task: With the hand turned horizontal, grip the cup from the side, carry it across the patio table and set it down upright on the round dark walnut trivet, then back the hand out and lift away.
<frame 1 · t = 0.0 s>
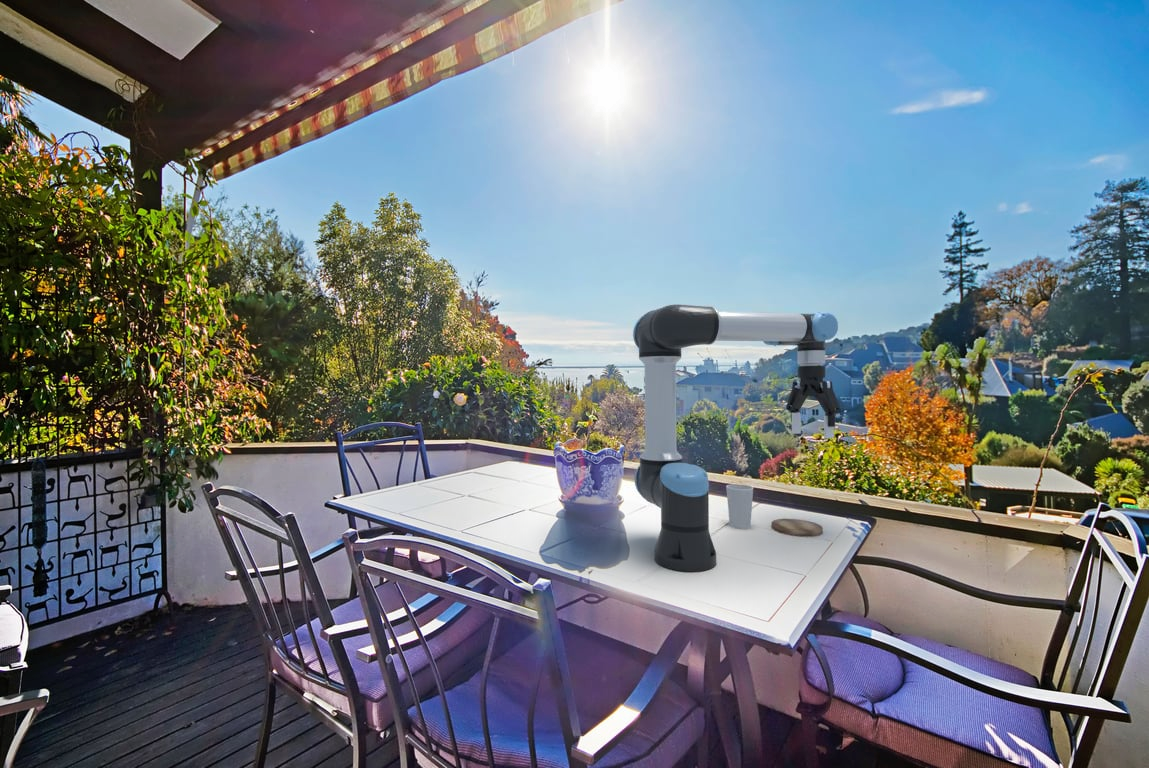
hand: (811, 435, 146), 28 cm above the table, tool pointing down, fingers open, 13 cm apart
cup: (740, 526, 150), on the table
walnut trivet: (796, 529, 146), on the table
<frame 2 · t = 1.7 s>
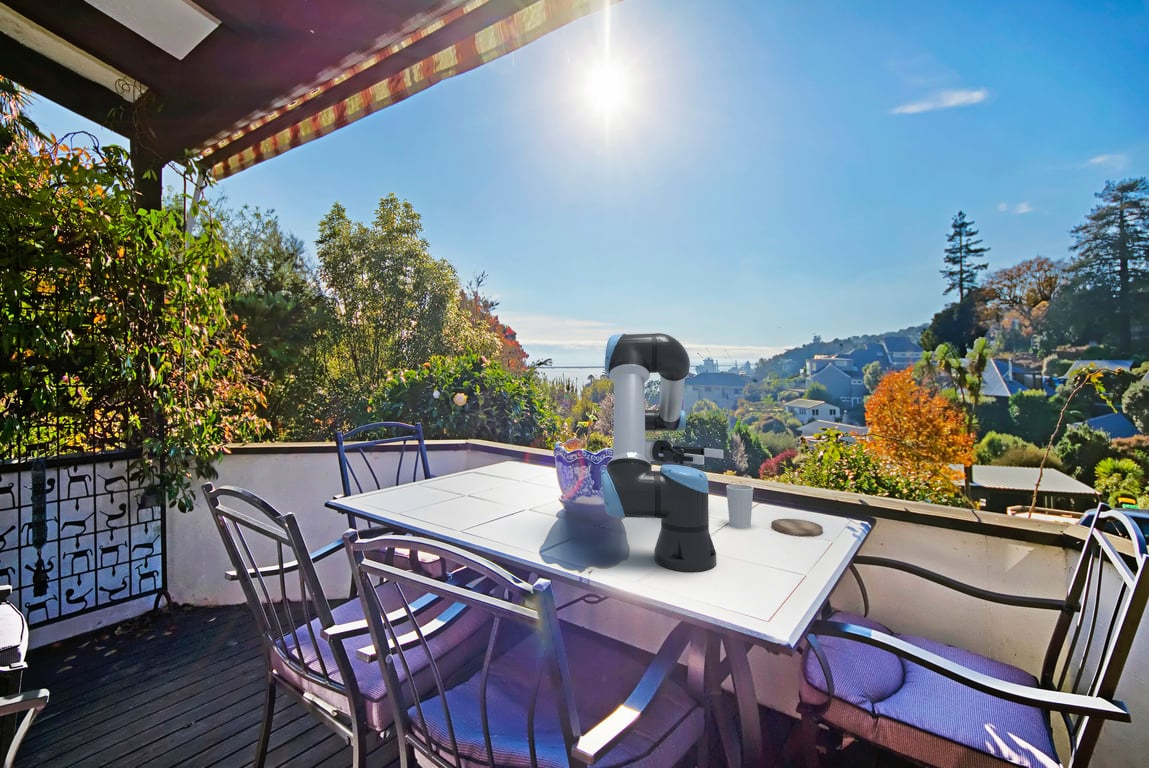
hand: (713, 457, 156), 20 cm above the table, tool horizontal, fingers open, 13 cm apart
nothing on the table moved.
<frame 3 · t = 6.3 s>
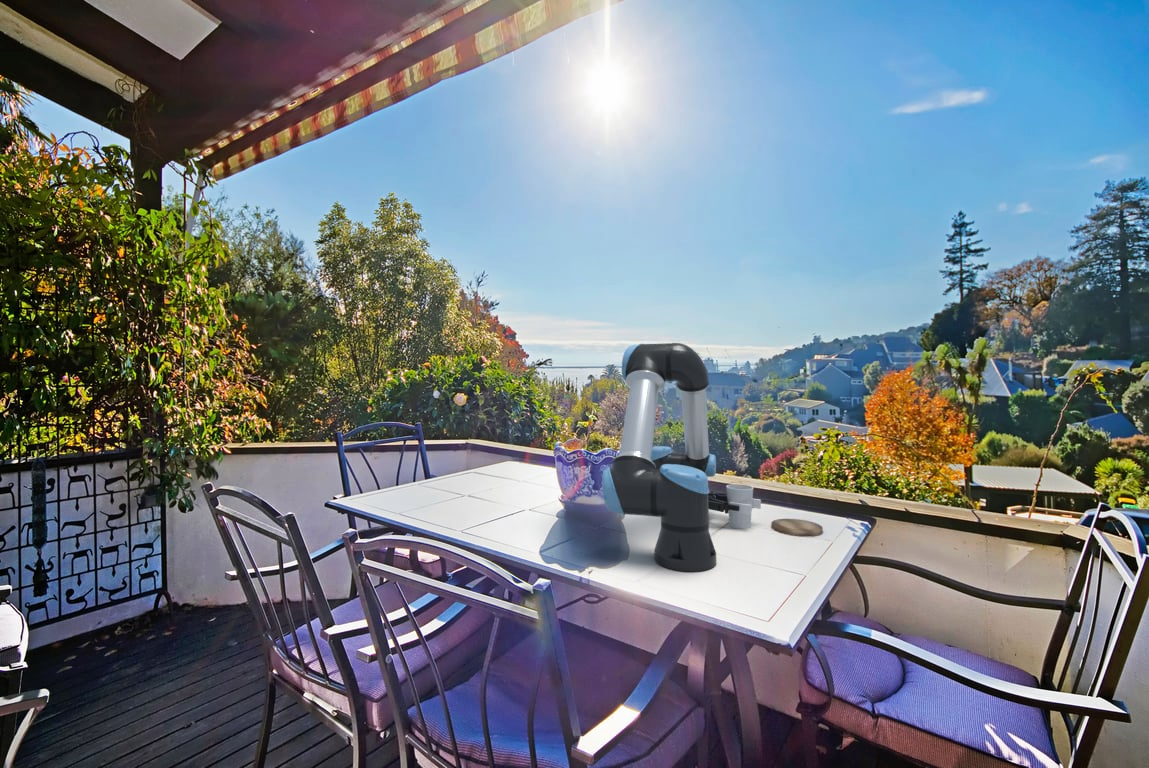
hand: (755, 506, 147), 7 cm above the table, tool horizontal, fingers closed on cup, 7 cm apart
cup: (740, 526, 150), on the table, touching gripper
when the fingers open (9 cm above the table, at t = 11.1 s): cup drops 1 cm, resting on walnut trivet.
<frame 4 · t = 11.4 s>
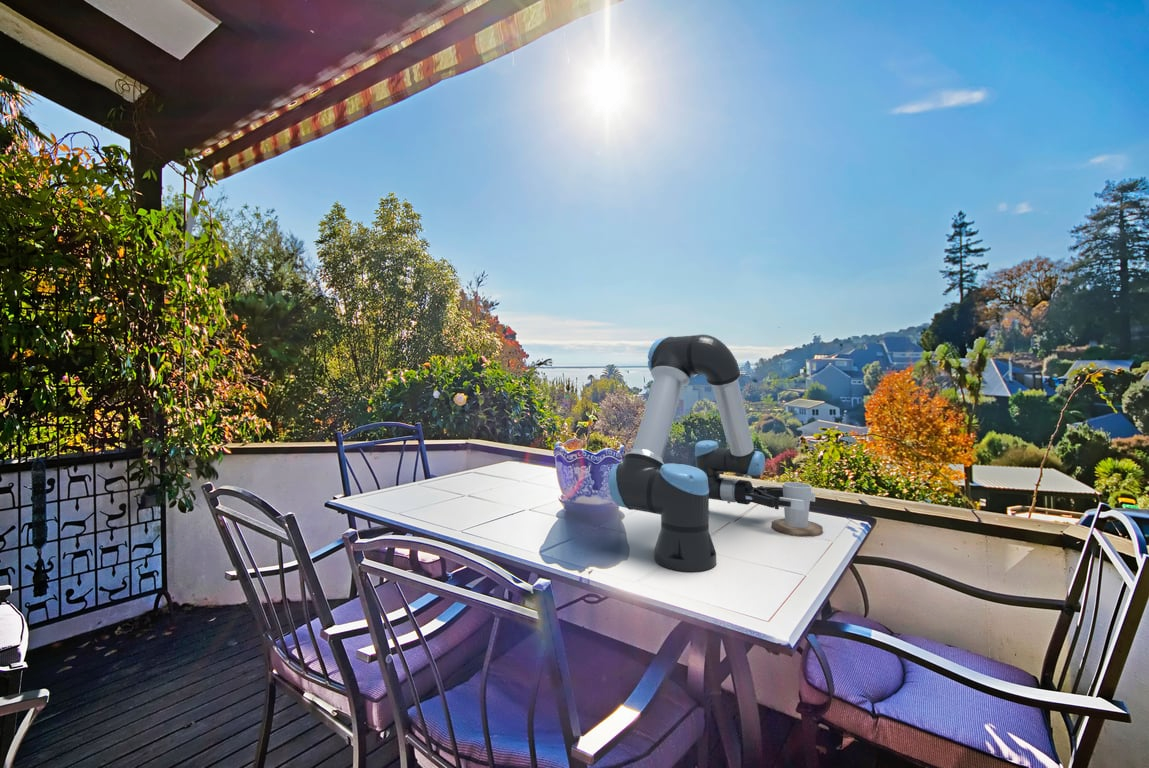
hand: (809, 501, 144), 9 cm above the table, tool horizontal, fingers open, 12 cm apart
cup: (796, 525, 146), point 1 cm above the table, touching walnut trivet
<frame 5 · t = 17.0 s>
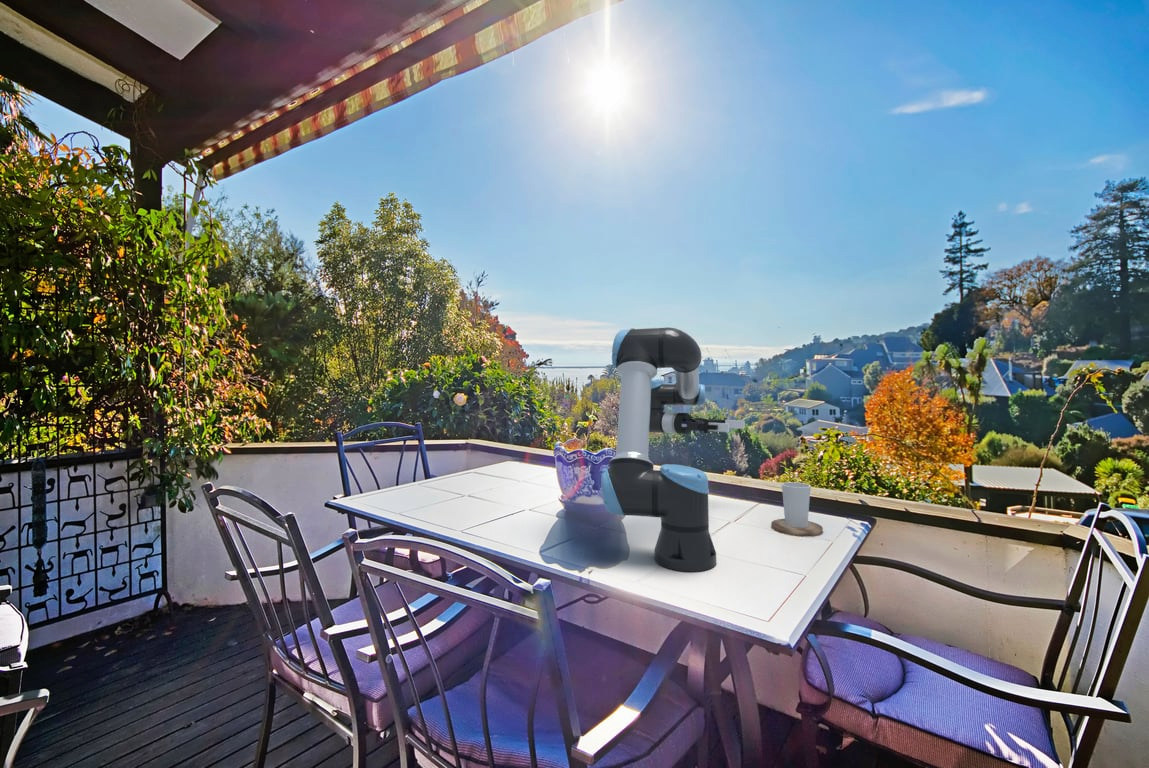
hand: (736, 426, 158), 30 cm above the table, tool horizontal, fingers open, 13 cm apart
nothing on the table moved.
at the end: cup inside the target area on the walnut trivet (0.1 cm from its centre), point 1.1 cm above the walnut trivet's base; cup tilted 0°; the gripper is holding nothing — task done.
